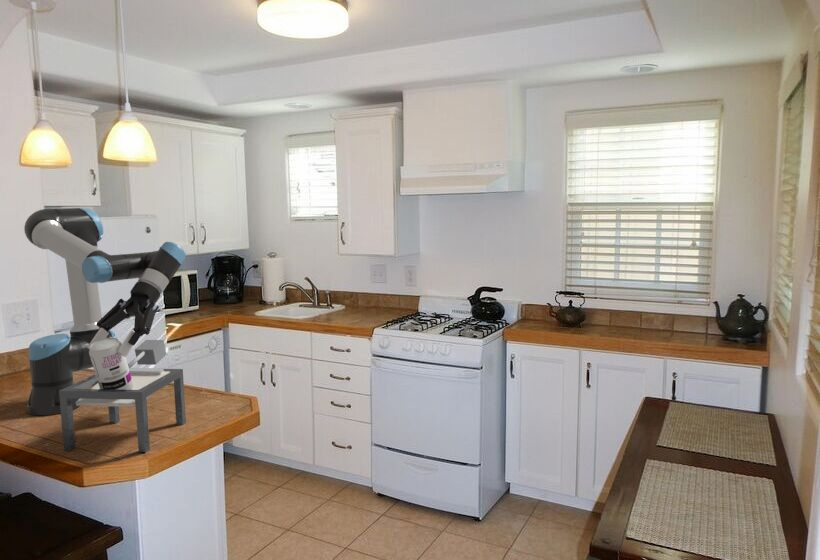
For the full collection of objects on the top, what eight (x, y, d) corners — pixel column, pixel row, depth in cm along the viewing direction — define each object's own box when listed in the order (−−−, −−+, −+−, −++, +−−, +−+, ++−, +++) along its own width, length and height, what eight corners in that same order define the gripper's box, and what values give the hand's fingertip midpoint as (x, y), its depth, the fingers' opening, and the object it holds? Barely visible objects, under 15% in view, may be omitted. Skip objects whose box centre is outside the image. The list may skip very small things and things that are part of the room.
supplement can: (118, 381, 174) (104, 334, 168) (140, 385, 171) (127, 338, 165) (95, 397, 167) (80, 349, 161) (118, 402, 164) (104, 353, 158)
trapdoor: (78, 412, 166) (73, 395, 164) (142, 354, 198) (139, 339, 197) (141, 413, 164) (137, 396, 162) (196, 354, 197) (193, 340, 195)
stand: (63, 450, 164) (58, 390, 162) (113, 420, 186) (109, 368, 184) (145, 452, 161) (141, 392, 159) (185, 422, 184) (182, 369, 182)
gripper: (187, 298, 175) (146, 363, 162) (128, 294, 185) (86, 355, 173) (171, 281, 169) (128, 348, 157) (112, 278, 179) (67, 340, 167)
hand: (106, 352), depth 165 cm, fingers open, 11 cm apart
